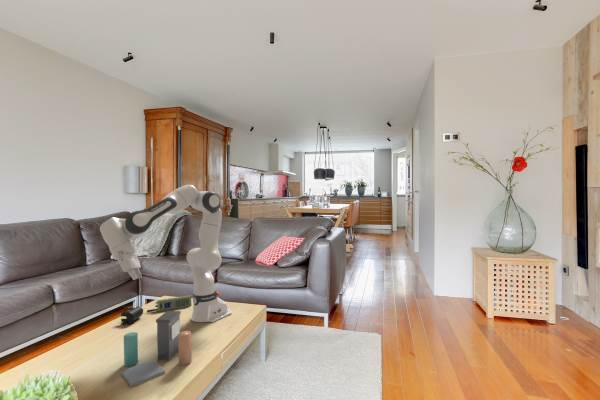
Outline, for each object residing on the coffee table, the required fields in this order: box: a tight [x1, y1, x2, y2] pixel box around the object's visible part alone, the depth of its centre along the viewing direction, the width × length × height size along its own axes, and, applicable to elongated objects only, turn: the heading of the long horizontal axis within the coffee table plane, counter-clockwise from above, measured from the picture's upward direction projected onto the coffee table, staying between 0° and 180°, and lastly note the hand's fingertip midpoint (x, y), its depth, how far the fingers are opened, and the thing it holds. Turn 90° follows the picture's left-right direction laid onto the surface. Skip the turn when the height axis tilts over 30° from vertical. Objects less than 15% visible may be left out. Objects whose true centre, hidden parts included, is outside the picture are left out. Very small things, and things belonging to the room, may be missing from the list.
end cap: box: [120, 305, 144, 325], centre depth 172 cm, size 10×7×7 cm
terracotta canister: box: [177, 330, 192, 366], centre depth 128 cm, size 5×5×12 cm
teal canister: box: [123, 331, 139, 368], centre depth 127 cm, size 5×5×12 cm
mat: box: [120, 359, 166, 387], centre depth 120 cm, size 12×12×1 cm
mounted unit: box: [155, 310, 182, 362], centre depth 134 cm, size 10×6×17 cm, turn 176°
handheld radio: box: [146, 294, 192, 313], centre depth 190 cm, size 7×3×25 cm
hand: (138, 278), depth 139 cm, fingers open, 8 cm apart
